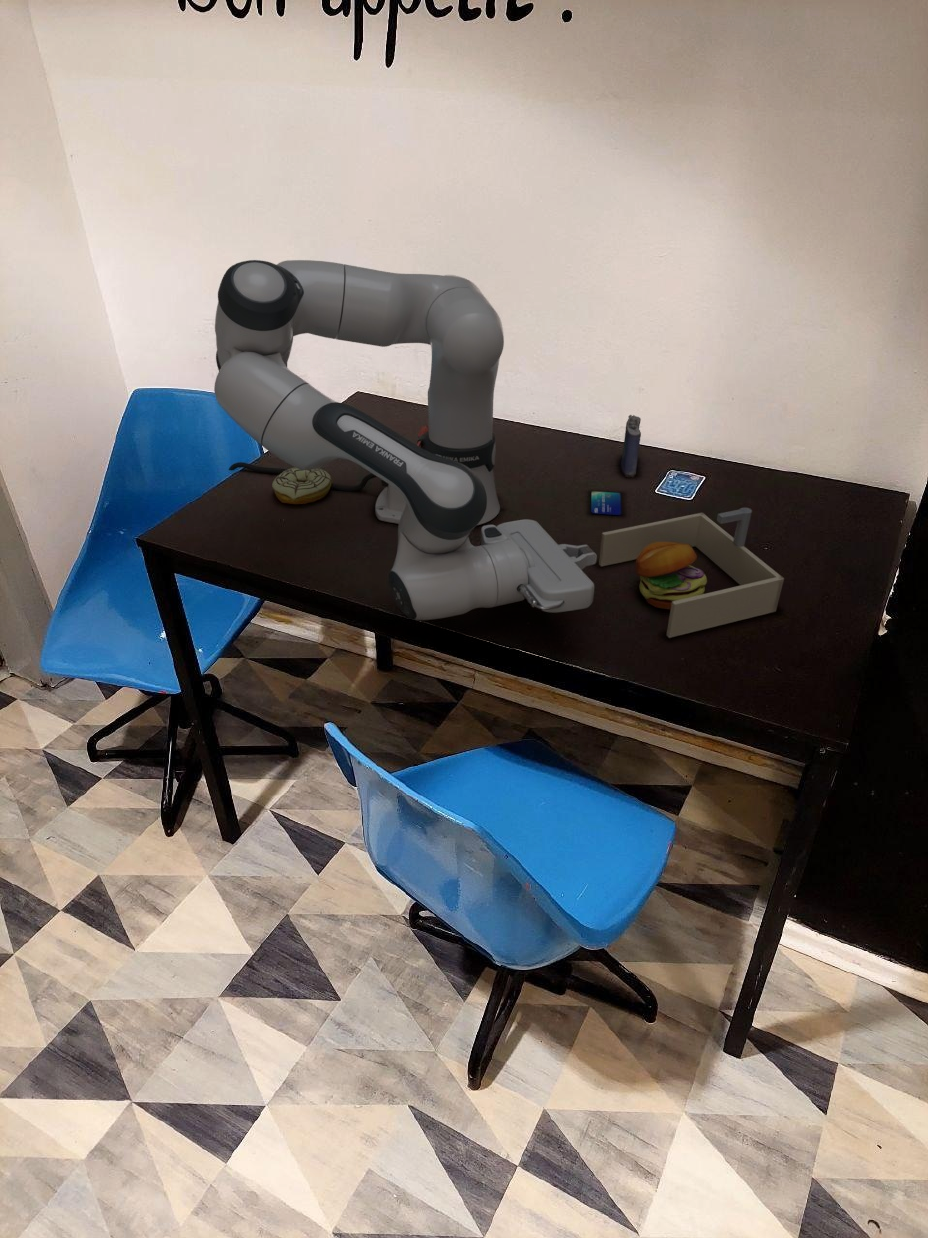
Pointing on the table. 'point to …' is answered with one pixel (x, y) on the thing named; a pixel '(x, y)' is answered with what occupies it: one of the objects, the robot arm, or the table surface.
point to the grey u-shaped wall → (722, 549)
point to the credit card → (605, 503)
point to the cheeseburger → (669, 573)
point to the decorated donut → (301, 485)
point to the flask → (631, 446)
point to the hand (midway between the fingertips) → (592, 553)
